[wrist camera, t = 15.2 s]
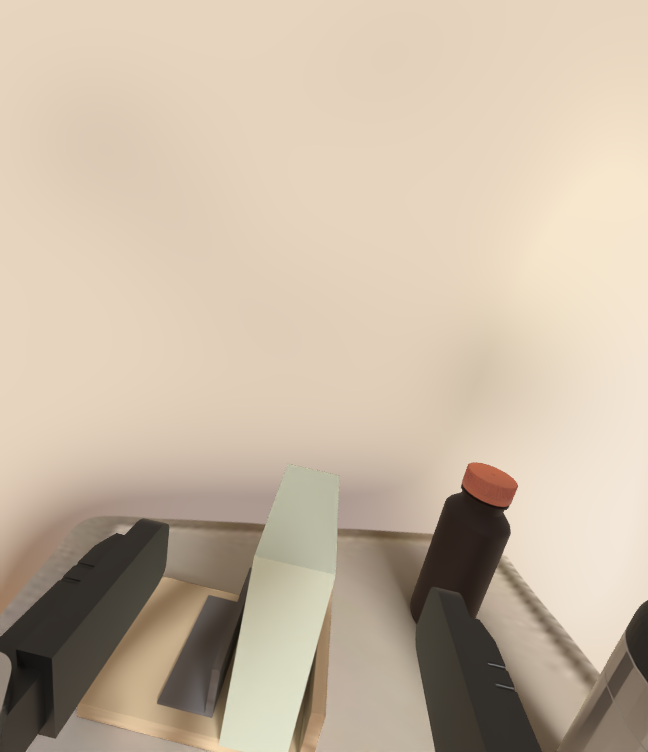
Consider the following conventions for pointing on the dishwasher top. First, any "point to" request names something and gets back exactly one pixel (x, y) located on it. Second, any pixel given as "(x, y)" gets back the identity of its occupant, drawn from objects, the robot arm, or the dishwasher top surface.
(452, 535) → the bottle
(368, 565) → the dishwasher top surface
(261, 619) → the book
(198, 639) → the rack
